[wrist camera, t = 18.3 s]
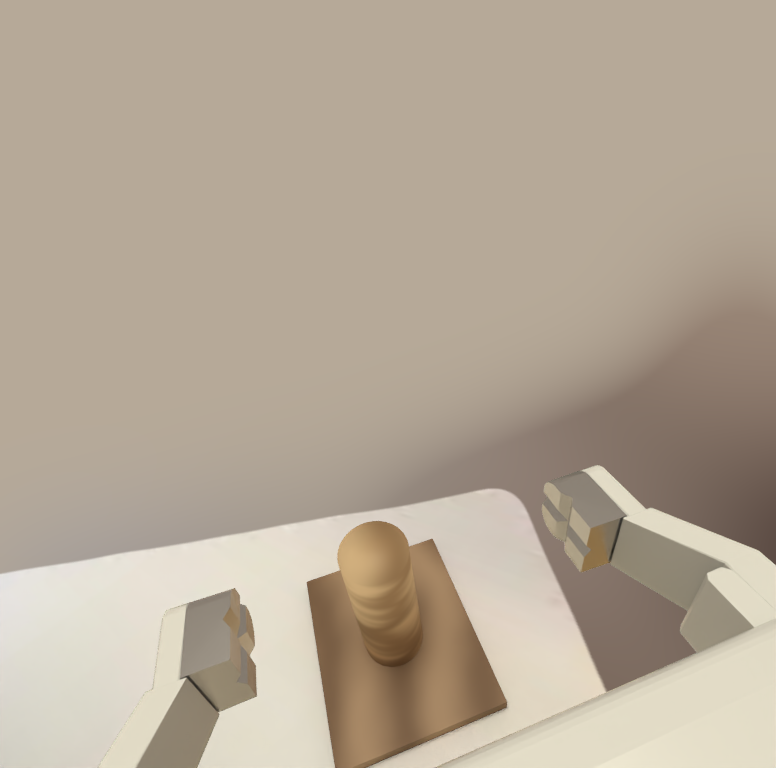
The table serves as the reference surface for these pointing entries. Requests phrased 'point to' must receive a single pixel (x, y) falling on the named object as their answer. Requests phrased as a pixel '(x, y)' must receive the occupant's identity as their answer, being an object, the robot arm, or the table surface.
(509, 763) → the robot arm
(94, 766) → the table surface
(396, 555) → the oak roller
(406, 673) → the board
